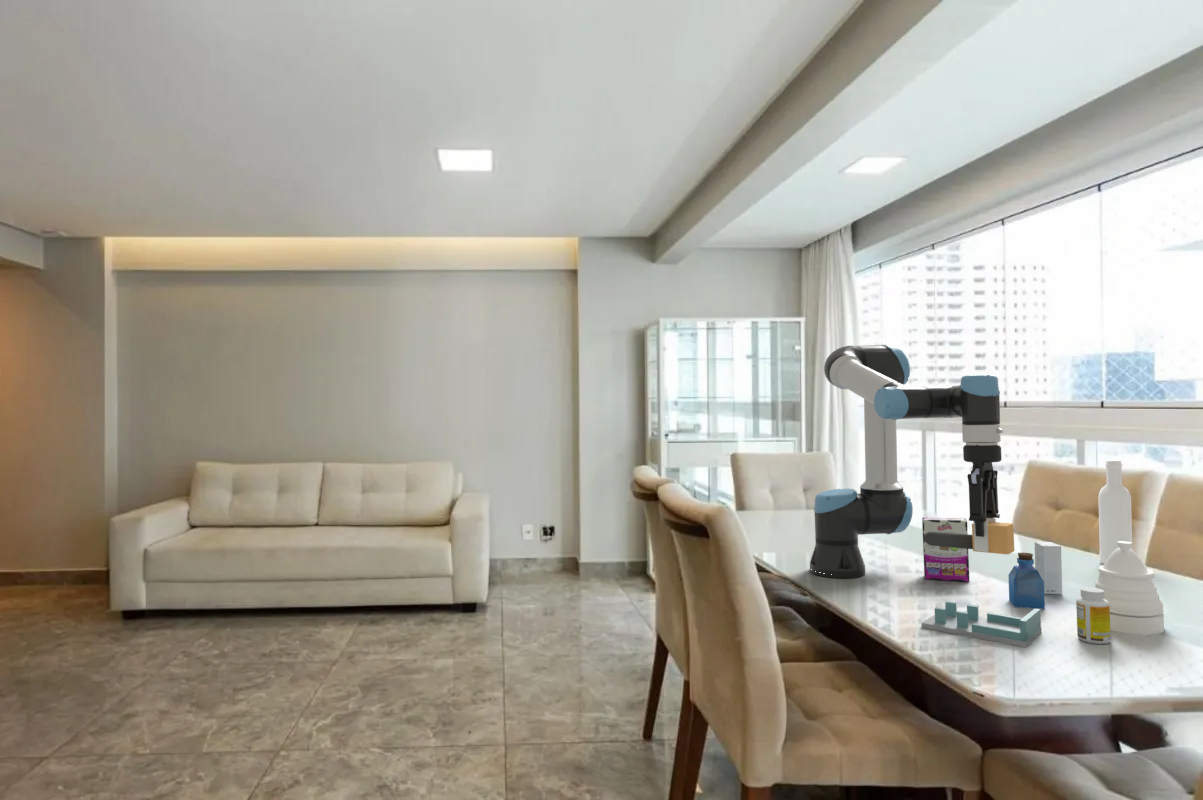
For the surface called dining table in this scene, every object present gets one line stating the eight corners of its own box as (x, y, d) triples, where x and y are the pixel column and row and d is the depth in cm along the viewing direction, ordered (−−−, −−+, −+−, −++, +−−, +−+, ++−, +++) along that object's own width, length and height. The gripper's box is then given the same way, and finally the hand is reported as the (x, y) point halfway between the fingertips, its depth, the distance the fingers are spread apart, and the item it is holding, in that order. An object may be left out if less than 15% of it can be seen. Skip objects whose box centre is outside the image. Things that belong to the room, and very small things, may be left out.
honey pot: (1167, 638, 148) (1165, 548, 148) (1091, 628, 155) (1089, 543, 155) (1160, 621, 159) (1158, 538, 159) (1089, 613, 166) (1087, 533, 166)
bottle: (1132, 562, 213) (1129, 459, 213) (1134, 568, 206) (1131, 461, 206) (1099, 560, 217) (1096, 458, 217) (1100, 565, 211) (1097, 460, 211)
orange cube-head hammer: (920, 546, 170) (919, 520, 170) (928, 543, 173) (927, 517, 173) (1008, 554, 157) (1006, 526, 157) (1014, 550, 161) (1013, 523, 161)
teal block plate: (921, 627, 158) (920, 604, 158) (941, 615, 167) (941, 593, 167) (1025, 647, 144) (1024, 621, 144) (1041, 632, 153) (1041, 608, 153)
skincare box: (1063, 594, 181) (1061, 546, 181) (1044, 594, 182) (1042, 546, 182) (1053, 588, 187) (1052, 541, 187) (1034, 588, 188) (1033, 541, 188)
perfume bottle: (1038, 602, 175) (1037, 551, 175) (1044, 609, 170) (1043, 557, 170) (1009, 600, 177) (1007, 550, 177) (1014, 607, 172) (1013, 556, 172)
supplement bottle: (1116, 641, 146) (1114, 590, 146) (1102, 647, 143) (1101, 594, 143) (1085, 634, 151) (1084, 584, 151) (1071, 639, 148) (1070, 588, 148)
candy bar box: (968, 578, 200) (966, 517, 200) (969, 582, 195) (968, 520, 195) (923, 575, 204) (921, 516, 204) (923, 579, 199) (922, 519, 199)
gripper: (987, 446, 154) (992, 557, 153) (1011, 442, 167) (1015, 544, 166) (950, 445, 159) (954, 553, 158) (976, 442, 172) (979, 541, 172)
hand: (985, 548), depth 162 cm, fingers closed on orange cube-head hammer, 5 cm apart
